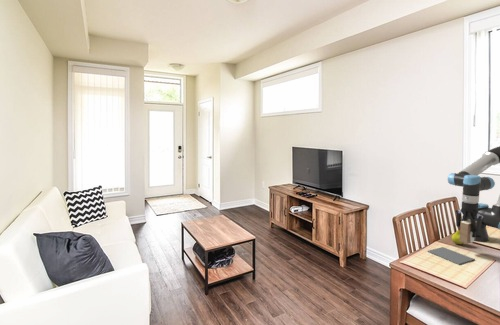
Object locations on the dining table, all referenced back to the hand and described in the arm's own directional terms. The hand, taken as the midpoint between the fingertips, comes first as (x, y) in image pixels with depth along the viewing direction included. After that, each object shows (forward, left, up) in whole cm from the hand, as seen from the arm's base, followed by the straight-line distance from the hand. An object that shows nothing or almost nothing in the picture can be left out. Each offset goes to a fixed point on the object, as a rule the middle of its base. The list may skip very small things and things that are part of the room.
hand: (467, 240), depth 159 cm
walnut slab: (0, 0, 0) cm, 0 cm away
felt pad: (+14, -1, -7) cm, 16 cm away
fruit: (-8, -9, -7) cm, 14 cm away
